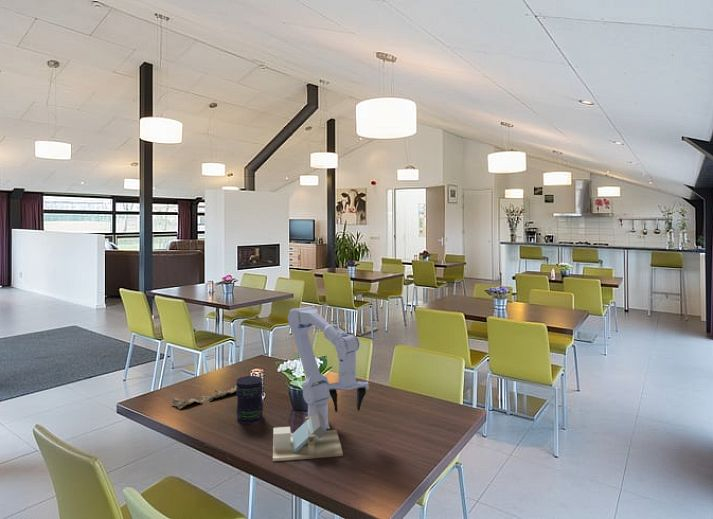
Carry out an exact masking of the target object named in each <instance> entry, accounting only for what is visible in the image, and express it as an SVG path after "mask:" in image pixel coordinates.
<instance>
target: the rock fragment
mask: <svg viewBox="0 0 713 519" xmlns="http://www.w3.org/2000/svg"><path fill="white" fill-rule="evenodd" d="M234 387H235V388H234V389H233V387H231V388H230V389H231V390H230V389H229V390H230V391H229V390H226V391H227V392H226V391H222V390H221V389H219V390H214V392H217V393H216V394H213V395H212V396H204V395H201V396H202V397H203V400H201V399H200V400H201V401H199V399H198V400H196V399H197V398H196V399H194V398H190V400H189V399H181V398H178V397H175V396H173V397H171V398H170V400H171V402H172V403H173V405H174V406H175V407H177V408H178V409H181V410H182V408H184V407H186V406H187V405H191V404H192V403H193V404H194V402H196V403H198V404H199V403H200V404H201V405H203V404H202V403H203V402H204V401H211V402H213V400H214V398H215V399H217V398H219V397H224V396H225V395H228V394H232V393H235V392H236V393H237V391H236V387H237V385H234ZM187 400H189V401H187Z"/></svg>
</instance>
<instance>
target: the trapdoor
mask: <svg viewBox="0 0 713 519" xmlns="http://www.w3.org/2000/svg"><path fill="white" fill-rule="evenodd" d="M326 431H327V429H326V427H325V423H324V419H323V416H322V415H321V414H320V413H319V412H318V411H317V412H315V413H314V414H313V415H312V416H311V417H310V418H309V419H308V420H307V421H306V422H305V421H304V422H303V423H302V424H301V425H300V426H299V427H298V428H297V429H296V430H295V431H294V432H292V433H293V434H292V438H293V451H294V452H295V453H296V452H297V451H298V450H299V449H300V448H301V447H302V446H304V445H305V444H306V443H307V442H308V435H315V434H316V435H317V436H318V437H319V439H320V438H321V437H322V436H323V435H324V434H325V433H326Z"/></svg>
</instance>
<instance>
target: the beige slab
mask: <svg viewBox="0 0 713 519" xmlns="http://www.w3.org/2000/svg"><path fill="white" fill-rule="evenodd" d="M310 417H311V416H310ZM310 417H308V416H305V417H304V420H305V421H304V423H305V422H306V421H307V420H308V419H309V418H310ZM293 433H294V432H291V448H285V449H274V443H272V462H281V461H283V462H284V461H295V460H305V459H307V460H309V459H318V458H319V459H320V458H331V457H332V458H333V457H343V456H344V452H343V449H342V444H341V441H340V437H339V435H338V431H337V429H334V430H333V429H332V430H326V433H325V434H324V435H323V436H322V437H321V438H320V439H319V437H318V436H317V435H316V434H315V435H308V442H307V443H306V444H305V445H304V446H302V447H301V448H300V449H299V450H298V451H297V452H296V453H295V452H294V451H293V438H292V434H293Z"/></svg>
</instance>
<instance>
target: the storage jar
mask: <svg viewBox="0 0 713 519" xmlns="http://www.w3.org/2000/svg"><path fill="white" fill-rule="evenodd" d="M236 386H237V387H236V400H237V404H236V416H237V417H236V421H237V422H238V421H239V422H238V423H240V422H241V424H246V423H247V424H249V425H250V424H255V423H258V422H260V421H262V420H263V418H264V415H263V412H264V406H263V405H264V404H263V392H264V390H263V389H264V388H263V387H264V385H263V378H262V377H261V376H259V375H257V376H256V375H246V376H242V377H241V376H240V377H239V378H237V380H236ZM247 424H246V425H247Z"/></svg>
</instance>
